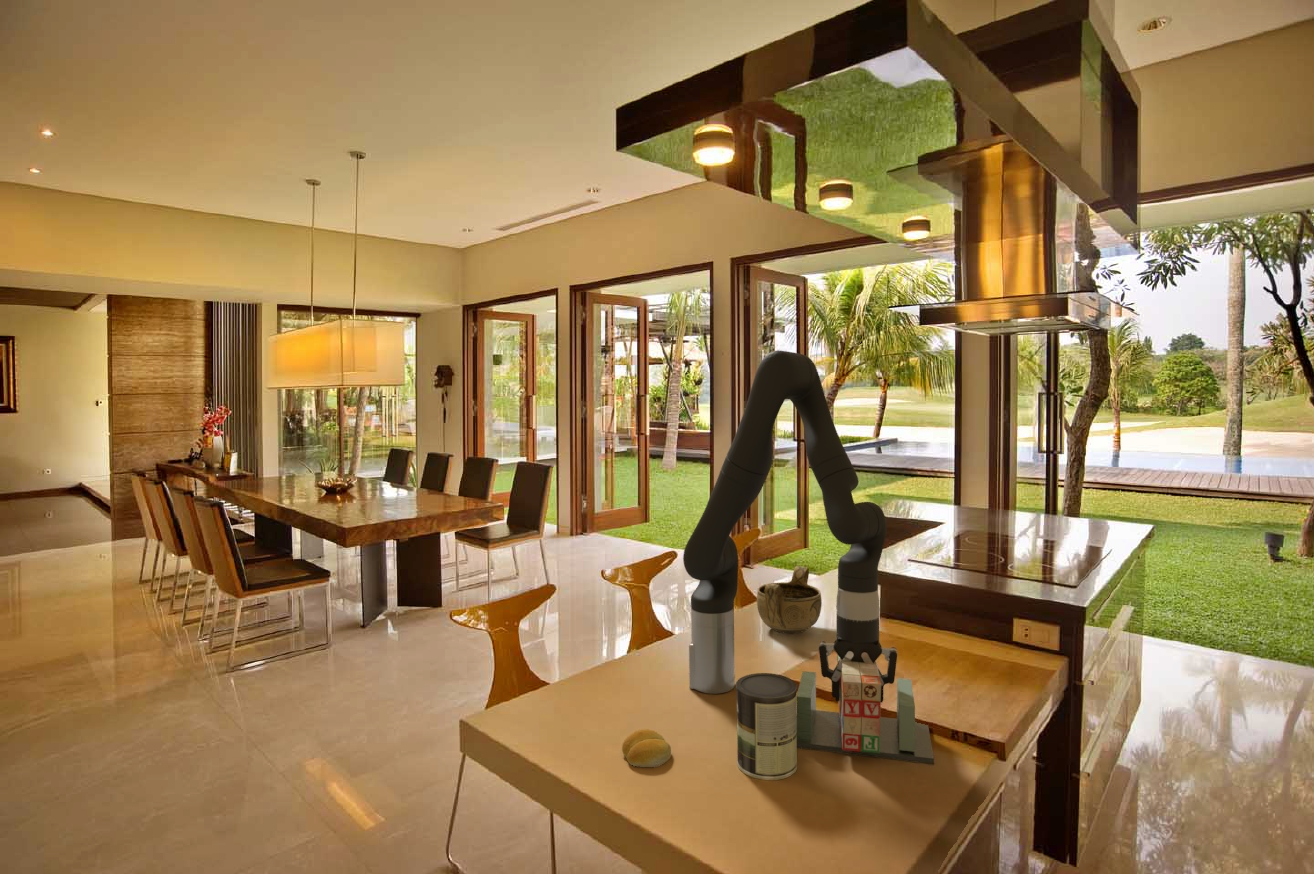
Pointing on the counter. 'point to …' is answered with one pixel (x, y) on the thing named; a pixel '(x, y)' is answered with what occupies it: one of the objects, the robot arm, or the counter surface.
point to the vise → (826, 729)
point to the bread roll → (646, 749)
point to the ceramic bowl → (790, 603)
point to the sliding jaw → (905, 715)
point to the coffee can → (766, 726)
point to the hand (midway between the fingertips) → (857, 701)
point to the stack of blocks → (860, 706)
